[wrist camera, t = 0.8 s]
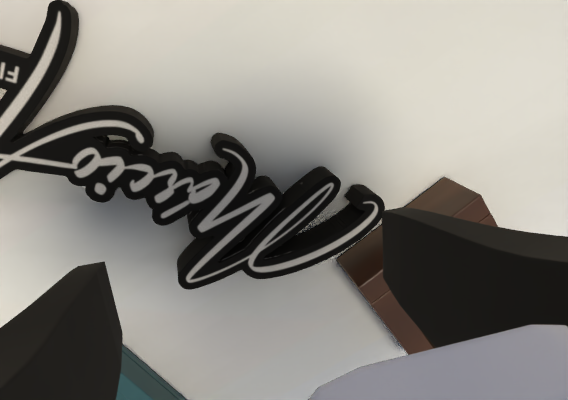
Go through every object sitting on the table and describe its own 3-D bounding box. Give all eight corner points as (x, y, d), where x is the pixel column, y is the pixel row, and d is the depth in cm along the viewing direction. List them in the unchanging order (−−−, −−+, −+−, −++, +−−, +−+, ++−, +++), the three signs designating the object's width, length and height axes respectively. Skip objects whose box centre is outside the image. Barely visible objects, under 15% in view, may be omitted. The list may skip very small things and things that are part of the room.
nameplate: (420, 125, 21) (341, 316, 23) (403, 119, 22) (331, 301, 25) (-454, -180, 12) (-435, 179, 15) (-390, -158, 14) (-382, 166, 16)
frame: (499, 273, 27) (537, 300, 24) (402, 346, 27) (429, 382, 24) (444, 176, 24) (481, 194, 21) (335, 258, 24) (357, 288, 21)
